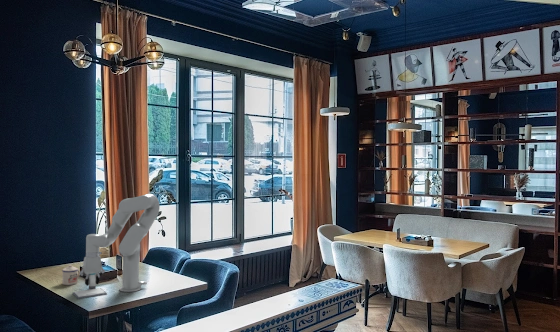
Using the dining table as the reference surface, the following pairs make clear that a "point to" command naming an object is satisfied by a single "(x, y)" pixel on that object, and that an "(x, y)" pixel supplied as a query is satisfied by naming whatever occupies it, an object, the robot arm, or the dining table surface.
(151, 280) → the dining table surface
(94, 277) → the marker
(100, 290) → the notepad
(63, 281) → the teacup with lid
